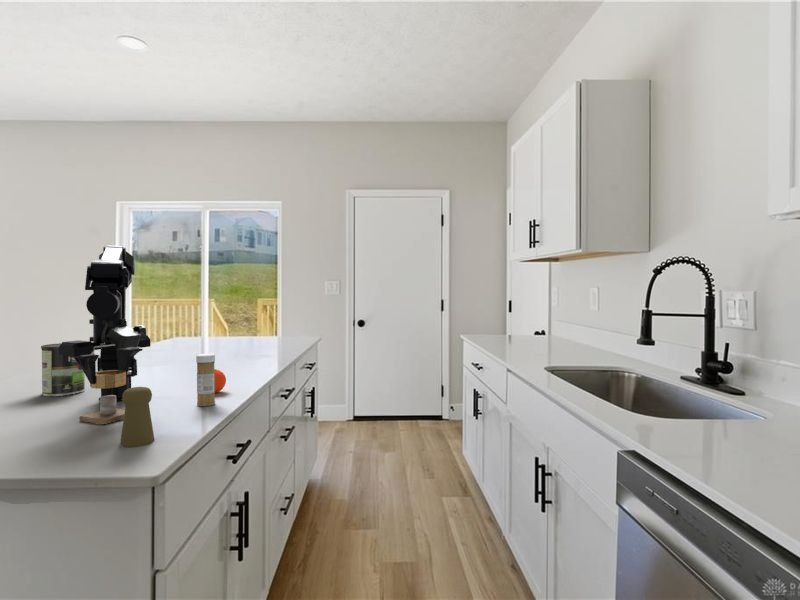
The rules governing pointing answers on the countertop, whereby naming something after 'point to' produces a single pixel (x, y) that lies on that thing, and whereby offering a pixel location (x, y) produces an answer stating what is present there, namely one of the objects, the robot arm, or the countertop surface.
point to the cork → (137, 418)
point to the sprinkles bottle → (205, 379)
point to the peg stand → (105, 412)
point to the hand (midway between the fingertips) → (108, 381)
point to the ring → (109, 379)
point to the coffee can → (60, 373)
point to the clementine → (219, 380)
